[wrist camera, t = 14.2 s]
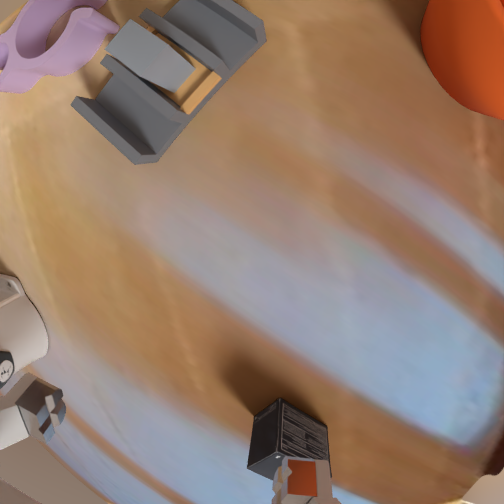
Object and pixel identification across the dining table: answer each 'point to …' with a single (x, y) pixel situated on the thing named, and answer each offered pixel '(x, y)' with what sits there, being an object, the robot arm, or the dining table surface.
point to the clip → (61, 53)
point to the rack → (189, 93)
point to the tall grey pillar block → (149, 57)
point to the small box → (285, 438)
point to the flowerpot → (467, 51)
